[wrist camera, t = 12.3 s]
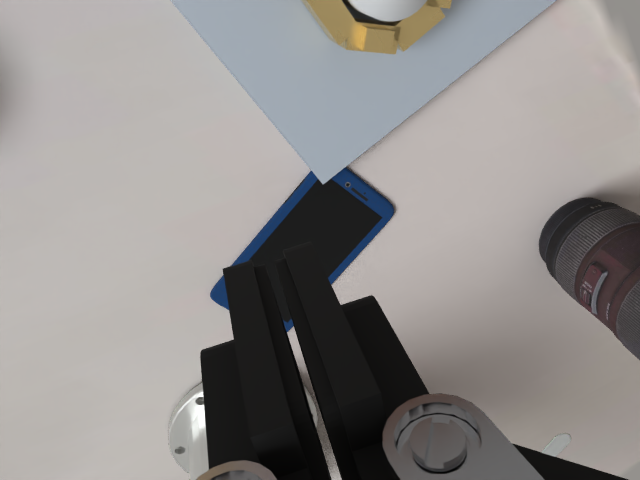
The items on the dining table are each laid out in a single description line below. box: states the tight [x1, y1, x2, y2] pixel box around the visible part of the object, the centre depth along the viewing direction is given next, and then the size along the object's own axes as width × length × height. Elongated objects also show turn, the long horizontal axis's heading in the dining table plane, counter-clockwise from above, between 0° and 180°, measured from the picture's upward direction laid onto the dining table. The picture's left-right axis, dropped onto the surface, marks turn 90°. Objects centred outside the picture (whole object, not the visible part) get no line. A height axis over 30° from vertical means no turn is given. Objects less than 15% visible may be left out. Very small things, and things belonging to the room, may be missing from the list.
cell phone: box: [210, 167, 394, 332], centre depth 42 cm, size 7×14×1 cm, turn 139°
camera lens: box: [539, 198, 640, 360], centre depth 41 cm, size 8×8×15 cm
